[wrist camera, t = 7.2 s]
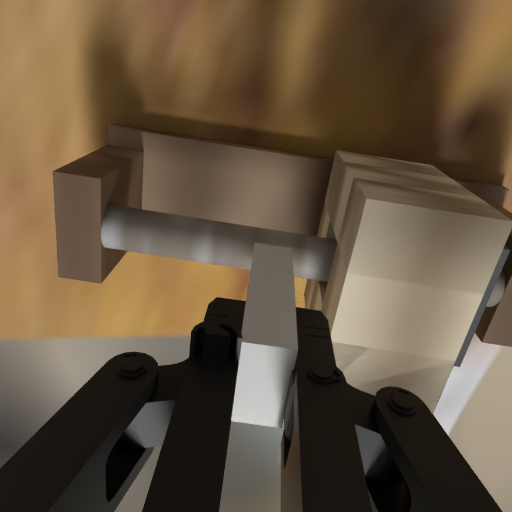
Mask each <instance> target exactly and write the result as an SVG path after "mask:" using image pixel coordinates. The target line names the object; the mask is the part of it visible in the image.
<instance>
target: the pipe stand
mask: <svg viewBox="0 0 512 512" xmlns="http://www.w3.org/2000/svg"><path fill="white" fill-rule="evenodd" d="M333 162H334V159H329V158H323V157H317V156H310V155H304V154H298V153H291V152H285V151H279V150H273V149H266V148H260V147H254V146H247V145H241V144H235V143H228V142H222V141H216V140H210V139H203V138H197V137H191V136H184V135H178V134H172V133H165V132H159V131H153V130H147V129H140V128H134V127H128V126H121V125H115V124H112V125H109V126H108V145H106V146H104V147H102V148H100V149H98V150H96V151H94V152H92V153H90V154H88V155H86V156H84V157H81V158H79V159H77V160H75V161H73V162H71V163H69V164H67V165H65V166H63V167H61V168H59V169H57V170H55V171H53V184H54V203H55V221H56V240H57V259H58V277H62V278H68V279H75V280H81V281H88V282H94V283H102V282H103V281H104V280H105V278H106V277H107V276H108V275H109V273H110V272H111V271H112V270H113V268H114V267H115V266H116V265H117V264H118V262H119V261H120V260H121V259H122V257H123V256H124V255H125V254H126V252H127V251H131V252H138V253H144V254H151V255H157V256H164V257H170V258H177V259H183V260H189V261H196V262H202V263H209V264H215V265H222V266H228V267H235V268H241V269H247V270H251V264H252V257H253V250H254V243H262V244H269V245H276V246H283V247H290V248H292V254H293V271H294V277H299V278H305V279H312V280H318V281H325V282H328V280H329V276H330V272H331V267H332V263H333V259H334V255H335V251H336V247H337V240H335V239H329V238H322V237H317V234H318V229H319V225H320V220H321V216H322V211H323V207H324V202H325V198H326V193H327V189H328V184H329V180H330V175H331V171H332V166H333ZM451 179H453V180H454V181H456V182H457V183H459V184H460V185H462V186H463V187H465V188H466V189H467V190H469V191H470V192H472V193H473V194H475V195H476V196H478V197H479V198H481V199H482V200H483V201H485V202H486V203H488V204H489V205H491V206H492V207H494V208H495V209H497V210H498V211H499V212H501V213H502V214H504V215H505V216H507V217H508V218H510V219H511V220H512V213H510V212H509V211H507V210H506V209H504V208H503V205H504V202H505V200H506V197H507V195H508V193H509V189H507V188H505V187H504V186H499V185H493V184H487V183H481V182H474V181H468V180H462V179H455V178H451ZM505 246H506V247H507V248H508V249H510V252H509V254H508V257H507V259H506V261H505V264H504V266H503V268H502V271H501V273H500V275H499V278H498V280H497V282H496V284H495V287H494V289H493V291H492V294H491V296H490V298H489V301H488V303H487V305H486V308H485V310H484V312H483V314H482V317H481V319H480V321H479V324H478V326H477V328H476V331H475V333H476V335H477V336H478V338H479V339H480V340H481V342H484V343H490V344H497V345H503V346H510V347H512V229H511V232H510V234H509V236H508V239H507V241H506V243H505Z"/></svg>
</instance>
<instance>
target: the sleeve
mask: <svg viewBox="0 0 512 512" xmlns="http://www.w3.org/2000/svg"><path fill="white" fill-rule="evenodd" d="M511 229H512V220H511V219H510V218H508V217H507V216H505V215H504V214H502V213H501V212H499V211H498V210H497V209H495V208H494V207H492V206H491V205H489V204H488V203H486V202H485V201H483V200H482V199H481V198H479V197H478V196H476V195H475V194H473V193H472V192H470V191H469V190H467V189H466V188H465V187H463V186H462V185H460V184H459V183H457V182H456V181H454V180H453V179H451V178H450V177H448V176H447V175H446V174H444V173H443V172H441V171H440V170H438V169H437V168H435V167H434V166H432V165H428V164H422V163H416V162H409V161H403V160H397V159H390V158H384V157H378V156H372V155H365V154H359V153H353V152H346V151H340V150H336V153H335V157H334V162H333V166H332V171H331V175H330V180H329V184H328V189H327V193H326V198H325V202H324V207H323V211H322V216H321V220H320V225H319V229H318V234H317V237H322V238H329V239H335V240H337V247H336V251H335V255H334V259H333V263H332V267H331V272H330V276H329V280H328V282H325V281H318V280H312V279H307V283H306V288H305V292H304V298H305V308H306V309H312V310H319V311H321V312H322V313H323V314H324V316H325V317H326V318H327V319H328V322H329V328H330V333H331V339H332V345H333V350H334V356H335V361H336V366H337V367H338V368H339V369H340V370H341V371H342V372H343V374H344V376H345V378H346V382H347V383H348V384H350V385H351V386H353V387H355V388H357V389H359V390H361V391H364V392H367V393H369V394H372V395H376V392H377V391H378V390H380V389H381V388H383V387H388V386H393V387H400V388H403V389H406V390H408V391H410V392H412V393H414V394H415V395H417V396H418V397H419V398H420V399H421V400H422V401H423V402H424V403H425V404H426V405H427V407H428V408H429V410H430V411H431V412H432V414H433V413H434V410H435V408H436V406H437V403H438V401H439V399H440V396H441V394H442V392H443V389H444V387H445V385H446V382H447V380H448V378H449V375H450V373H451V370H452V368H453V366H454V363H455V361H456V359H457V356H458V354H459V352H460V349H461V347H462V345H463V342H464V340H465V337H466V335H467V333H468V330H469V328H470V326H471V323H472V321H473V319H474V316H475V314H476V312H477V309H478V307H479V305H480V302H481V300H482V297H483V295H484V293H485V290H486V288H487V286H488V283H489V281H490V279H491V276H492V274H493V272H494V269H495V267H496V264H497V262H498V260H499V257H500V255H501V253H502V250H503V248H504V246H505V243H506V241H507V239H508V236H509V234H510V232H511Z"/></svg>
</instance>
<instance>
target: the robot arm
mask: <svg viewBox="0 0 512 512" xmlns="http://www.w3.org/2000/svg"><path fill="white" fill-rule="evenodd" d="M283 419H284V432H283V436H282V441H281V446H280V450H279V455H278V460H277V463H280V464H281V512H502V510H501V509H500V508H499V506H498V505H497V503H496V502H495V501H494V499H493V498H492V496H491V495H490V494H489V492H488V491H487V489H486V488H485V487H484V485H483V484H482V482H481V481H480V480H479V479H478V477H477V475H476V474H475V473H474V471H473V470H472V469H471V467H470V466H469V464H468V463H467V461H466V460H465V459H464V457H463V456H462V455H461V454H460V452H459V450H458V449H457V447H456V446H455V445H454V443H453V442H452V440H451V439H450V438H449V436H448V435H447V433H446V432H445V431H444V429H443V428H442V426H441V425H440V424H439V422H438V421H437V419H436V418H435V417H434V415H433V414H432V412H431V411H430V410H429V408H428V407H427V405H426V404H425V403H424V402H423V401H422V400H421V399H420V398H419V397H418V396H417V395H415V394H414V393H412V392H410V391H408V390H406V389H403V388H400V387H393V386H388V387H383V388H381V389H380V390H378V391H377V392H376V395H372V394H369V393H367V392H364V391H361V390H359V389H357V388H355V387H353V386H351V385H350V384H348V383H347V382H346V378H345V376H344V374H343V372H342V371H341V370H340V369H339V368H338V367H337V366H336V361H335V356H334V350H333V345H332V339H331V333H330V328H329V322H328V319H327V318H326V317H325V316H324V314H323V313H322V312H321V311H319V310H312V309H305V308H298V307H296V305H295V288H294V271H293V254H292V248H290V247H283V246H276V245H269V244H262V243H254V250H253V257H252V264H251V270H250V277H249V284H248V291H247V298H246V301H240V300H233V299H226V298H219V297H217V298H215V299H214V300H213V301H212V302H211V303H210V304H209V305H208V308H207V311H206V315H205V318H204V322H201V323H200V324H198V325H196V326H195V327H194V328H193V330H192V331H191V341H190V355H189V358H188V359H186V360H185V361H182V362H180V363H177V364H171V365H163V366H158V363H157V362H156V360H155V359H154V358H153V357H151V356H149V355H147V354H145V353H140V352H126V353H123V354H120V355H117V356H115V357H113V358H112V359H110V360H109V361H108V362H107V363H106V364H105V365H104V366H103V367H102V368H101V369H100V370H99V371H98V372H97V373H96V374H95V375H94V376H93V377H92V378H91V379H90V380H89V381H88V382H87V383H86V384H85V385H83V387H81V389H80V390H78V391H77V392H76V393H75V394H74V396H73V397H71V398H70V400H68V401H67V402H66V404H65V405H63V407H61V409H59V411H57V412H56V413H55V415H53V416H52V417H51V418H50V420H48V422H46V424H44V425H43V426H42V427H41V428H40V429H39V430H38V431H37V432H36V433H35V434H34V435H33V436H32V437H31V438H30V439H29V441H27V442H26V443H25V444H24V445H23V446H22V447H21V448H20V449H19V450H18V451H17V452H16V453H15V454H14V455H13V456H12V457H11V458H10V459H9V460H8V461H7V462H6V463H5V464H4V465H3V466H2V467H1V468H0V512H114V511H115V510H116V508H117V506H118V505H119V503H120V502H121V500H122V499H123V497H124V496H125V494H126V492H127V491H128V489H129V488H130V486H131V485H132V483H133V481H134V480H135V478H136V477H137V475H138V474H139V472H140V471H141V469H142V468H143V466H144V464H145V463H146V461H147V460H148V458H149V457H150V455H151V453H152V452H153V449H154V447H155V446H162V448H161V451H160V455H159V458H158V461H157V465H156V468H155V471H154V475H153V478H152V481H151V484H150V487H149V491H148V494H147V497H146V501H145V504H144V507H143V510H142V512H219V507H220V499H221V491H222V484H223V477H224V470H225V462H226V455H227V447H228V440H229V431H230V425H231V421H236V422H243V423H250V424H258V425H265V426H272V427H280V428H282V423H283Z"/></svg>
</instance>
